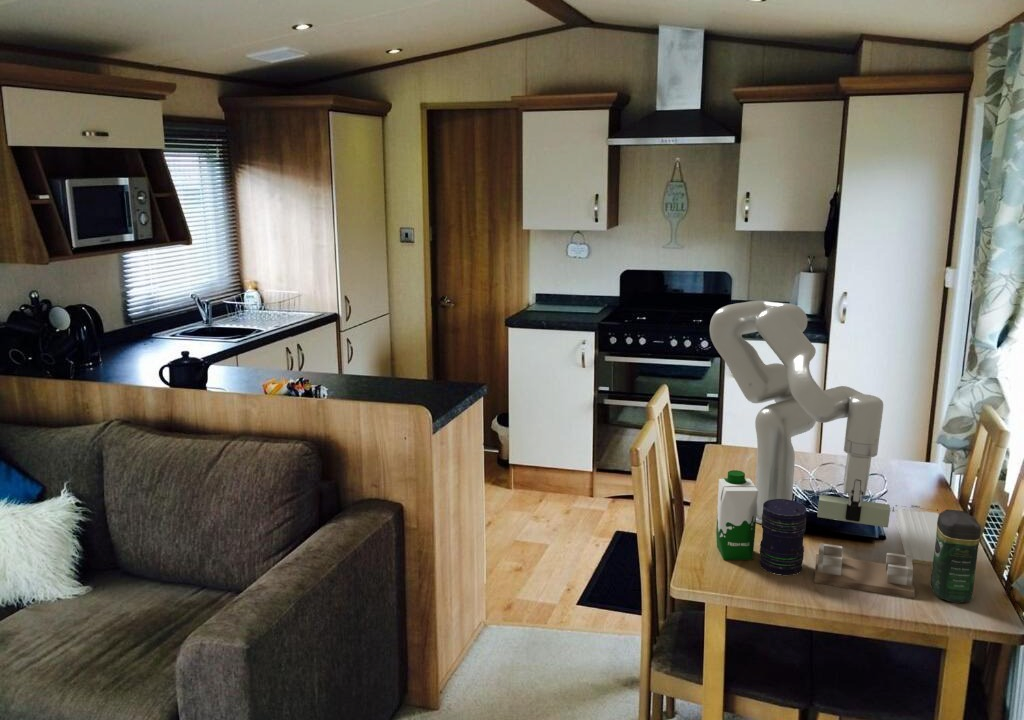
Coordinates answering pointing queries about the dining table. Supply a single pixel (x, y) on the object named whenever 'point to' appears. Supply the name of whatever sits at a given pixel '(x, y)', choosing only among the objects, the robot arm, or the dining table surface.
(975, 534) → the coffee jar
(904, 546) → the baseboard molding
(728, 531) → the milk carton
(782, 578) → the dining table surface
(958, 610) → the dining table surface
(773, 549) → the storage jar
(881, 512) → the pale green long block
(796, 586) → the dining table surface
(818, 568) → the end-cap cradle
